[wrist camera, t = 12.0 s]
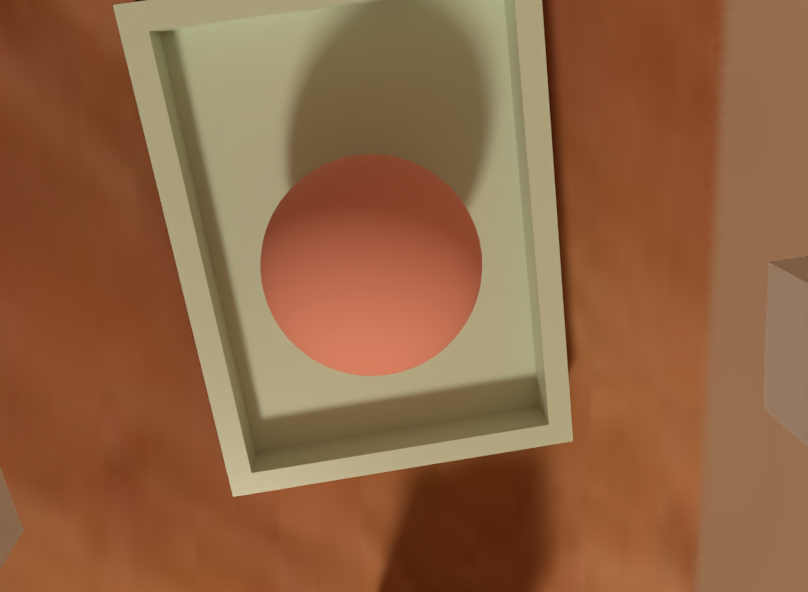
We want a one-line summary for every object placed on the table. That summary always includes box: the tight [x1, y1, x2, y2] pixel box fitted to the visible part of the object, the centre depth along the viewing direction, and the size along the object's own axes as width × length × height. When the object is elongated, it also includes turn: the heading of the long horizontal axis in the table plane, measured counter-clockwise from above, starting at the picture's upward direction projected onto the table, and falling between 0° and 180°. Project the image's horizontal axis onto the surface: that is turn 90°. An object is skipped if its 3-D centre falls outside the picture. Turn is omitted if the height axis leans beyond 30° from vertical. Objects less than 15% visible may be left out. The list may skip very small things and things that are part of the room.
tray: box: [113, 0, 573, 497], centre depth 24 cm, size 16×12×2 cm
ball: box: [260, 154, 482, 376], centre depth 22 cm, size 6×6×6 cm
